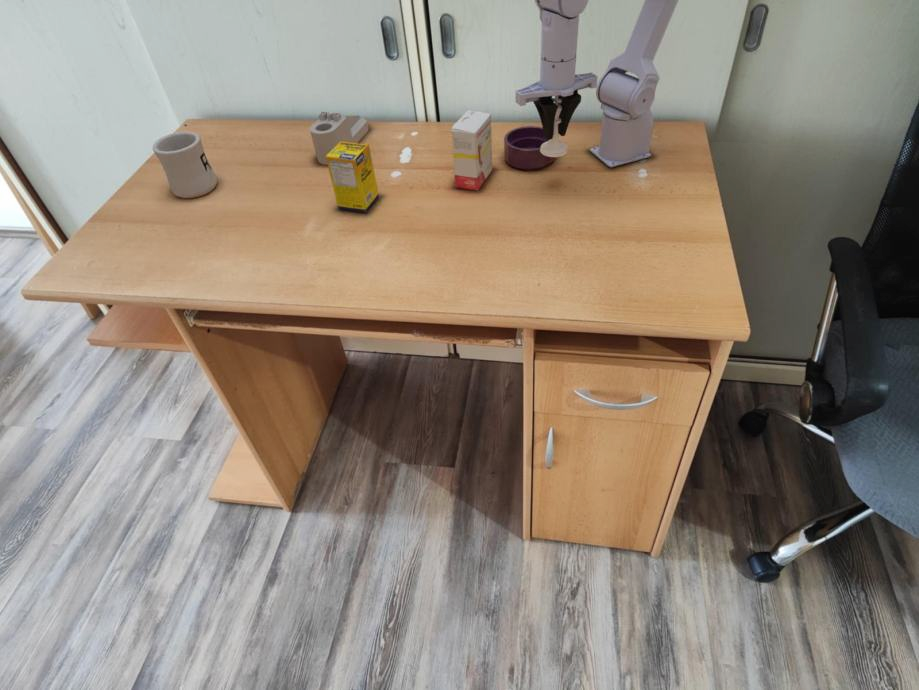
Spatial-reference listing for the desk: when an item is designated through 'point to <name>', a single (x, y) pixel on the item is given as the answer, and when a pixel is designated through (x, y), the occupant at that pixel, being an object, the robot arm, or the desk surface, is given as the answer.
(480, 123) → the ink box
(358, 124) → the angled bracket with hole
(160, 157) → the mug
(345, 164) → the supplement box
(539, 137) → the bowl
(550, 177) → the desk surface
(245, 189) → the desk surface
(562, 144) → the chess piece
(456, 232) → the desk surface
